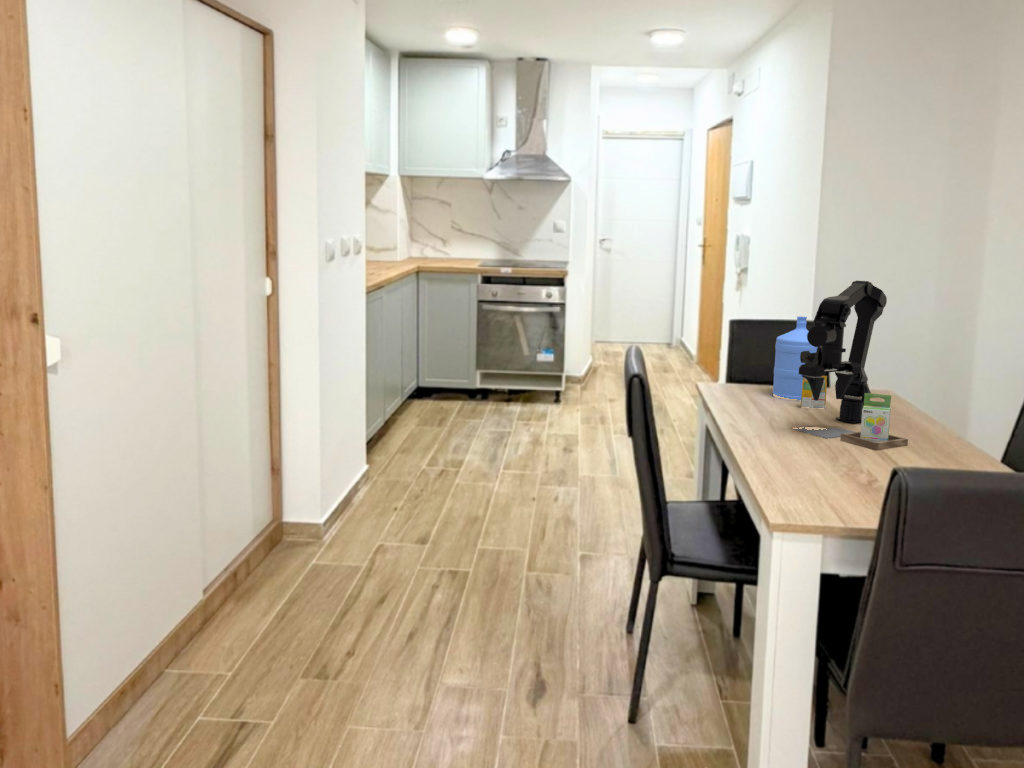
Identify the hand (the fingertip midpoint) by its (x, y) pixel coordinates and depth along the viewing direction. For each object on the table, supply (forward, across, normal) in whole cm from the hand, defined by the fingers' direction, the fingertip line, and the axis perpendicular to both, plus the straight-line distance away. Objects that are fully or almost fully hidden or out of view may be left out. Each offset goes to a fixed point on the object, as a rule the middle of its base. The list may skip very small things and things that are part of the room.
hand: (827, 399), depth 268 cm
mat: (+10, 0, 0) cm, 10 cm away
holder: (+10, -1, +16) cm, 19 cm away
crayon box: (+10, -21, -25) cm, 34 cm away
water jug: (+10, -30, -41) cm, 52 cm away
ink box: (+10, -1, +16) cm, 19 cm away
